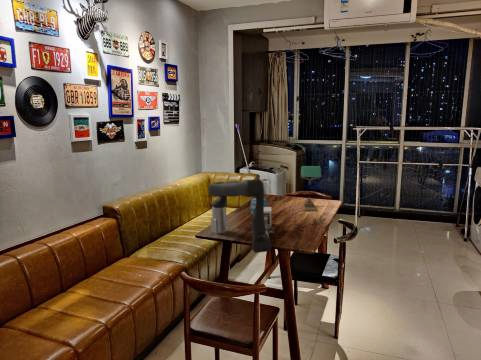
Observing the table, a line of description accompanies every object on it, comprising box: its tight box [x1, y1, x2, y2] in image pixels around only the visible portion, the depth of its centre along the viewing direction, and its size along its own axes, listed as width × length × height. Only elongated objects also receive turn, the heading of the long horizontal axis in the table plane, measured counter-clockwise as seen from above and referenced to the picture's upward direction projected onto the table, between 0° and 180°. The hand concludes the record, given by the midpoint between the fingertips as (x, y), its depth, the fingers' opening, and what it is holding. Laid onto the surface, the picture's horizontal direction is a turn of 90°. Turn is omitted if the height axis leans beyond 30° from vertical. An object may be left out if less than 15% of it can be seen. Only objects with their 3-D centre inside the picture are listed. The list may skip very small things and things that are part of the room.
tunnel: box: [264, 206, 272, 227], centre depth 238 cm, size 10×11×14 cm
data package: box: [250, 197, 268, 215], centre depth 277 cm, size 12×4×12 cm, turn 75°
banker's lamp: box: [300, 165, 322, 212], centre depth 290 cm, size 16×21×35 cm
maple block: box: [264, 213, 269, 228], centre depth 233 cm, size 6×12×11 cm, turn 176°
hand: (262, 226), depth 225 cm, fingers open, 8 cm apart
